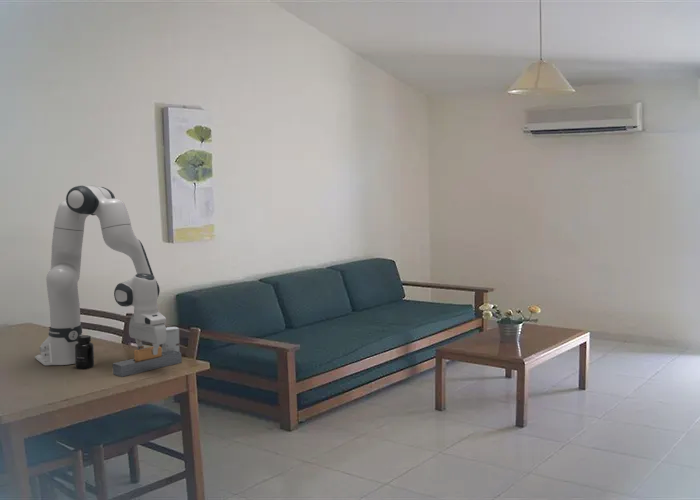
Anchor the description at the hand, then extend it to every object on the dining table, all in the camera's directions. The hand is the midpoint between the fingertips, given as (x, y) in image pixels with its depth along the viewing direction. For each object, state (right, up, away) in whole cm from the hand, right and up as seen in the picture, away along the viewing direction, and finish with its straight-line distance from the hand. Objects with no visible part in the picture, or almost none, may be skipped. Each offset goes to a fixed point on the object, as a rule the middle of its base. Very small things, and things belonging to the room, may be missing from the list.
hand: (147, 352), depth 272 cm
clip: (0, -6, +1) cm, 6 cm away
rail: (0, -6, +1) cm, 6 cm away
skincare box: (+5, -5, +16) cm, 18 cm away
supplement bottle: (-25, -6, +3) cm, 26 cm away
